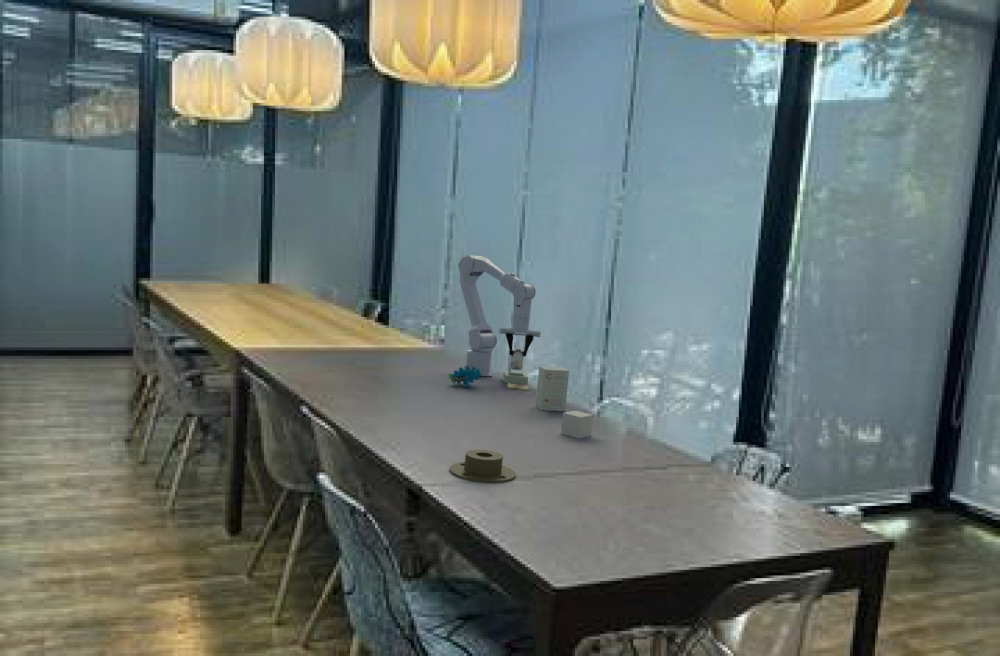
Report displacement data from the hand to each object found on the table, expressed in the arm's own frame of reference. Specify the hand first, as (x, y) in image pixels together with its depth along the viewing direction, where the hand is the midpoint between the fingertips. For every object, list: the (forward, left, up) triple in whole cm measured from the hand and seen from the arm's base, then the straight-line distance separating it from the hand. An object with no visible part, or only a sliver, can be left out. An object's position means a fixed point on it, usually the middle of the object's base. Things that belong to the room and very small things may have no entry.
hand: (517, 355), depth 323 cm
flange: (-19, -118, -10) cm, 120 cm away
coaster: (0, -10, -10) cm, 14 cm away
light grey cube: (+10, -73, -10) cm, 74 cm away
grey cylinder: (0, 0, -5) cm, 5 cm away
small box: (+7, -41, -10) cm, 43 cm away
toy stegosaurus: (-19, -15, -10) cm, 26 cm away
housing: (0, 0, -10) cm, 10 cm away
